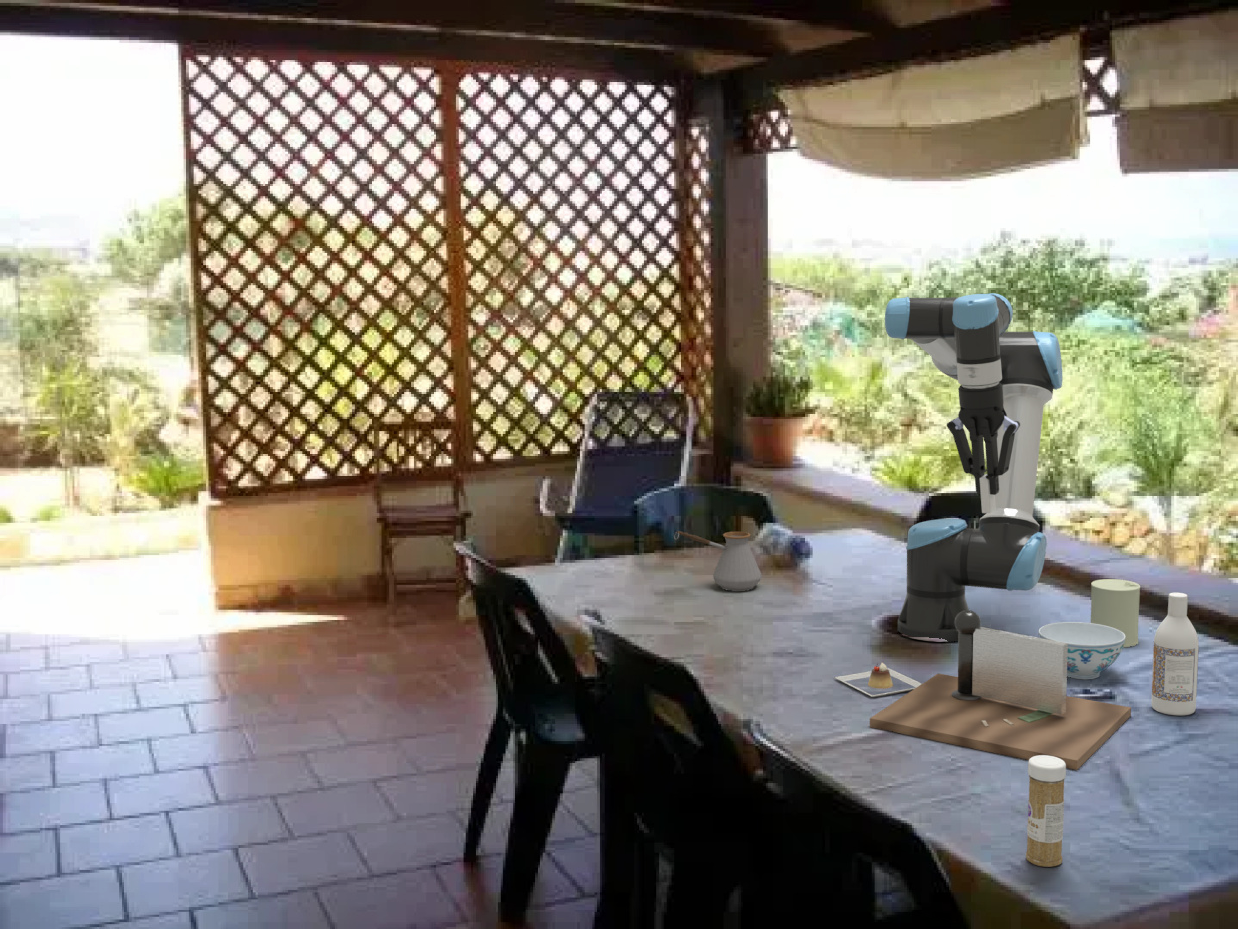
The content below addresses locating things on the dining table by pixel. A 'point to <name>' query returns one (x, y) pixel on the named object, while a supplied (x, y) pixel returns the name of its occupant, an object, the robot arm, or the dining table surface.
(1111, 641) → the chinaware
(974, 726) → the brown wooden cutting board
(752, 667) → the dining table surface
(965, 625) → the panel with knobbed post
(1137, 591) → the can
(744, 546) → the coffee pot
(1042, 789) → the sprinkles bottle
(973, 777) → the dining table surface
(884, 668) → the dessert
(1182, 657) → the bath foam
